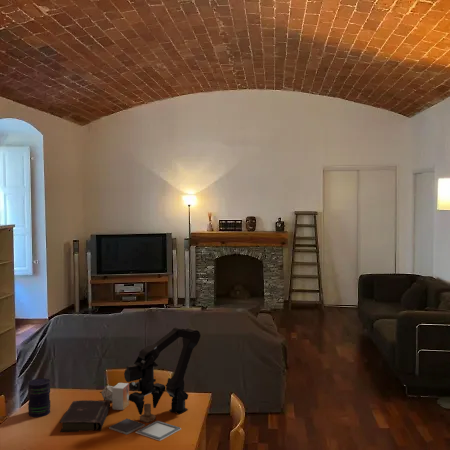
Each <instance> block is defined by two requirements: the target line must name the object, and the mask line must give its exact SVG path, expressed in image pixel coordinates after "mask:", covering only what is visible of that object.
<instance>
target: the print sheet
mask: <svg viewBox="0 0 450 450" xmlns="http://www.w3.org/2000/svg"><path fill="white" fill-rule="evenodd" d="M181 430H182V428H181V427H180V426H176V425H173V424H170V423H166V422H163V421H161V420H154V421H152V423H151V422H150V423H148V425H145V426H143V427H141V428H139V429H137V430H135V431H134V432H135V433H136V434H138V435H141V436H143V437H146V438H150V439H153V440H156V441H163V440H165V439H166V438H168V437H170V436H171V435H173V434H175V433H177V432H179V431H181Z"/></svg>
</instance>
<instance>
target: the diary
mask: <svg viewBox="0 0 450 450" xmlns="http://www.w3.org/2000/svg"><path fill="white" fill-rule="evenodd" d="M110 409H111V401H106V400H105V401H104V400H94V399H93V400H92V399H91V400H89V399H88V400H86V399H85V400H84V399H83V400H73V401H72V402H71V404H70V405H69V407H68V409H66V412H65V413H64V414H63V416H62V418H61V419H60V421H59V423H60V424H62V425H61V426H62V427H61V429H60V431H59V433H79V432H81V431H82V432H84V431H86V432H89V431H93V432H96V431H97V430H98V429H99V432H101V430H102V428H103V426H104V423H105V421H106V419H107V417H108V413H109V412H110ZM94 430H95V431H94Z"/></svg>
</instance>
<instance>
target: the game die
mask: <svg viewBox="0 0 450 450" xmlns="http://www.w3.org/2000/svg"><path fill="white" fill-rule="evenodd" d="M105 385H106V386H105V387H104V388H103V389H102V391H99V394H101V395H102V398H103V401H110V402H112V388H113V387H114V386H116V385H117V384H116V385H108V384H105Z"/></svg>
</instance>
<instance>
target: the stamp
mask: <svg viewBox="0 0 450 450" xmlns="http://www.w3.org/2000/svg"><path fill="white" fill-rule="evenodd" d="M139 421H140V422H142V423H143V422H144V423H147V424H150V423H151V422H154V421H156V415H155V414H153V413H152V404H151V403H144V407H143V413H142V415H140V416H139Z"/></svg>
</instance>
